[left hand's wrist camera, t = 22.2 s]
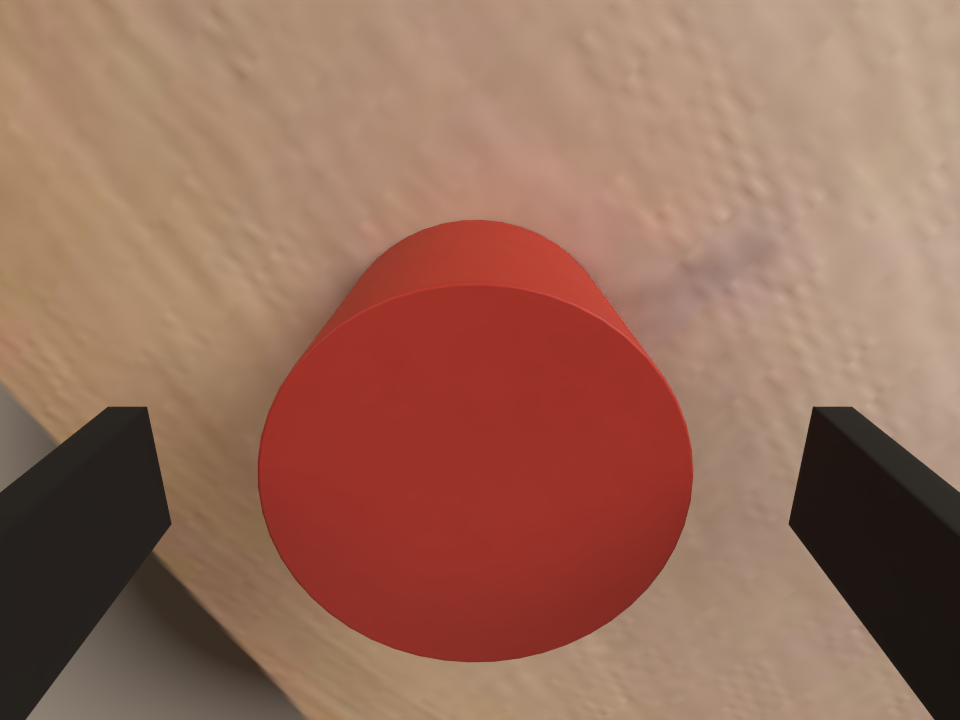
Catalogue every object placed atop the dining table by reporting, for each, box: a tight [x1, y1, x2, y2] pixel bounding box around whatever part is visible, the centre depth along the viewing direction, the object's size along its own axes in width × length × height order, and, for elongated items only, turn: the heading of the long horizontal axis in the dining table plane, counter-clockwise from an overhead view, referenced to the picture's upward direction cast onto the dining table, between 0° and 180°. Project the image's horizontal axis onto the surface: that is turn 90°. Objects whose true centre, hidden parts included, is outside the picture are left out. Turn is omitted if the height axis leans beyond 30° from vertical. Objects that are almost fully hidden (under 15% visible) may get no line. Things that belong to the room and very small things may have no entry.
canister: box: [258, 220, 693, 662], centre depth 16 cm, size 9×9×8 cm
